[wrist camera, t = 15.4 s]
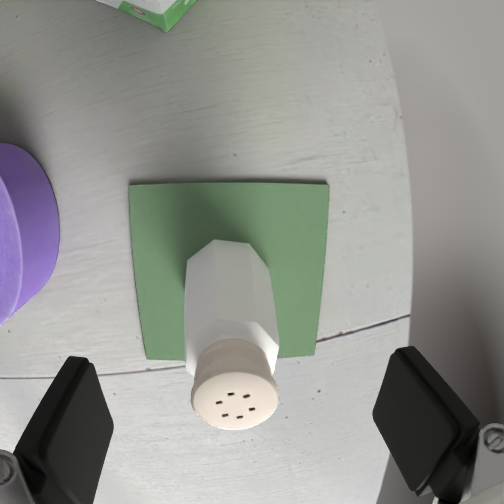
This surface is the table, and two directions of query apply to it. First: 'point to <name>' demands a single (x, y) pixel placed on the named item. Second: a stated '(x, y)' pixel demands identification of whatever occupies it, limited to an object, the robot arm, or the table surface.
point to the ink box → (154, 10)
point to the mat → (237, 230)
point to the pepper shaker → (230, 335)
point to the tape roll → (25, 229)
